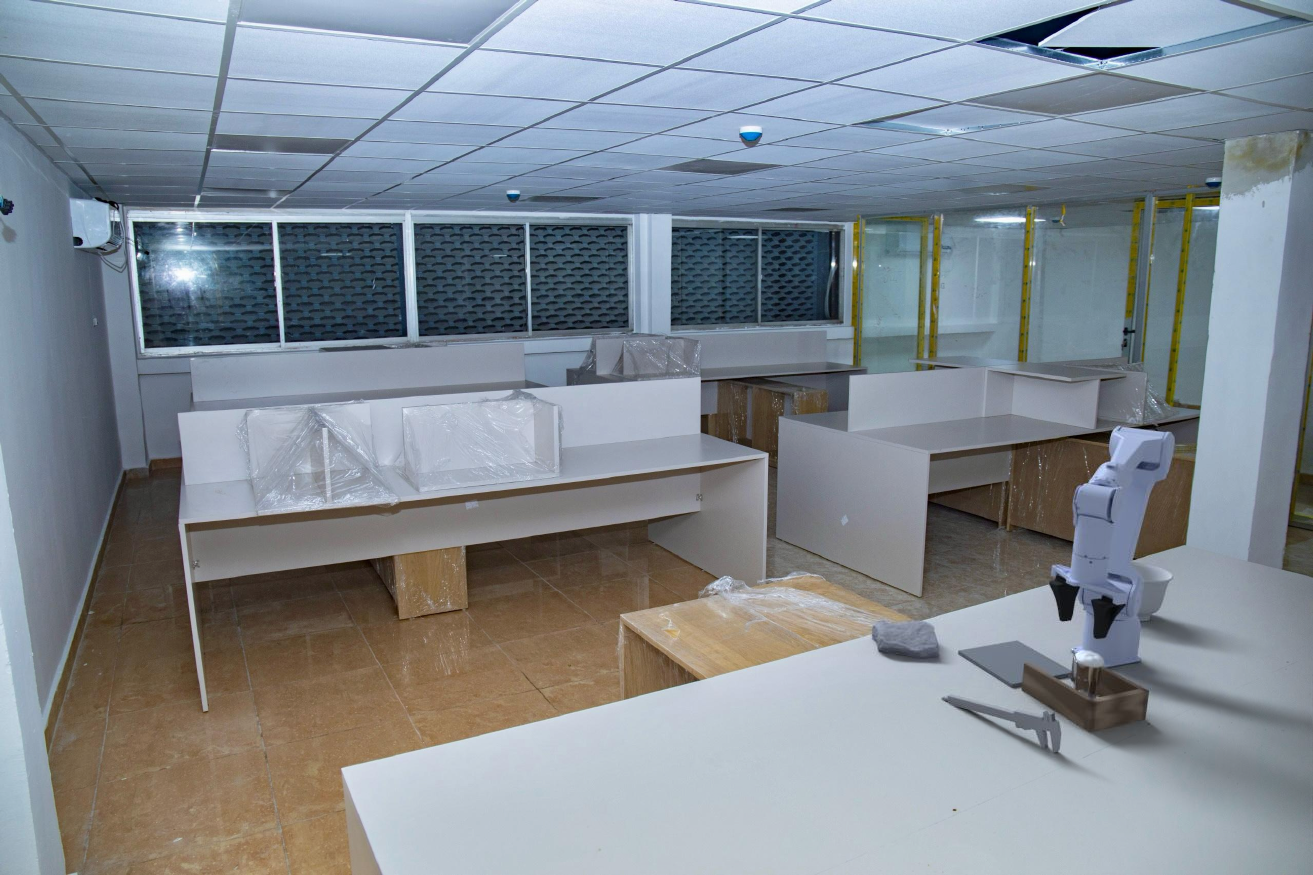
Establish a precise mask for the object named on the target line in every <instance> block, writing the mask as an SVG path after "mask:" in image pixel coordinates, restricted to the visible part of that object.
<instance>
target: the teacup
mask: <svg viewBox="0 0 1313 875" xmlns="http://www.w3.org/2000/svg"><path fill="white" fill-rule="evenodd" d="M1131 565H1132V566H1133V567H1134V568H1135V569H1136V570H1137V571H1138V572H1139V573H1140V574H1141V576H1142V577H1143V581H1144V587H1143V597H1142V603H1141V606H1140V609H1139V612H1138V614H1137V617H1138V618H1139V621H1140V622H1147V621H1149V620H1150V619H1151V615H1153V614H1156V613H1158V611H1160V610H1161V607H1162V605H1163V602H1164V598H1165V595H1166V592H1167V588H1168V585H1169V583H1170V582H1171V581H1172V580H1173V579H1174V575H1173V574H1172V573H1171V572H1170V571H1168V570H1166V569H1164V568H1161V567H1160V566H1156V565H1152V564H1150V563H1149V564H1148V563H1144V562H1136V561H1132V564H1131ZM1117 580H1118V579H1117Z"/></svg>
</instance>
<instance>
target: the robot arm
mask: <svg viewBox="0 0 1313 875" xmlns="http://www.w3.org/2000/svg"><path fill="white" fill-rule="evenodd" d="M1175 441H1176V440H1175V435H1174V434H1173V433H1172V432H1171V431H1166V432H1165V431H1158V430H1157V431H1156V430H1149V429H1141V428H1132V427H1127V426H1126V427H1125V426H1122V425H1117V426H1116V427H1115V428H1113V430H1112V432H1111V435H1110V439H1109V444H1108V446H1109V447H1108V450H1109V451H1108V452H1109V455H1110V461H1107V462H1104V463H1102V464H1101V465H1100V466H1099V467H1098V468H1097V469H1096V471H1095V473H1094V474H1093V476H1092V477H1090V478H1091V479H1090V480H1089V482H1088V483H1084V484H1083V485H1082V484H1081V485H1078V486H1077V487H1076V489H1075V491H1074V495H1073V500H1072V512H1073V514H1072V515H1073V519H1072V525H1073V526H1074V528H1075V529H1074V535H1073V537H1074V538H1073V545H1072V555H1071V562H1070V563H1071V564H1070V567H1069V566H1065V565H1063V564H1053V565H1051V572H1050V576H1051V577H1053V578H1054V579H1051V580H1049V581H1048V586H1049V587H1050V589H1051V591H1052V594H1053V596H1054V599H1055V602H1056V607H1057V614H1058V618H1059V619H1058V620H1059V621H1060V622H1063V623H1064V622H1070V621H1072V620H1073V616H1074V610H1075V605H1076V604H1075V603H1076V600H1077V601H1078V603H1079V604H1080V605H1082V606H1083V607H1082V610H1083V611H1085V616H1084V623H1083V631H1082V632H1083V633H1082V640H1081V645H1080V646H1074V647H1071V648H1070V651H1071V652H1072V653H1073V651H1072V649H1073V650H1074V653H1077V652H1079V651H1081V650H1086V651H1092V652H1094V653H1096V654H1098V655H1100V656H1101V657H1102V658H1103V660H1104V666H1103V667H1105V668H1107V669H1108V668H1111V667H1115V666H1122V665H1126V664H1132V663H1137V662H1141V661H1142V658H1141V657H1139V656H1138V655H1139V649H1140V647H1139V646H1140V640H1141V632H1142V625H1141V621H1139V618H1138V617H1137V614H1138V612H1139V609H1140V606H1141V603H1142V597H1143V587H1144V581H1143V577H1142V576H1141V574H1140V573H1139V572H1138V571H1137V570H1136V569H1135V568H1134V567H1133V566H1132V565H1131V564H1132V562H1133V560H1134V556H1135V552H1136V549H1137V545H1138V541H1139V537H1140V533H1141V529H1142V525H1143V522H1144V517H1145V516H1146V515H1145V514H1146V510H1147V506H1148V503H1149V498H1150V495H1151V492H1152V490H1153V488H1154V486H1155V484H1156V483H1157V482H1160V481H1163V480H1165V479H1166V478H1167V475H1168V473H1169V470H1170V468H1171V463H1172V460H1173V456H1174V451H1175V443H1176V442H1175ZM1117 579H1118V580H1117Z"/></svg>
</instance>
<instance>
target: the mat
mask: <svg viewBox="0 0 1313 875" xmlns="http://www.w3.org/2000/svg"><path fill="white" fill-rule="evenodd" d="M957 654H958V655H959V656H961V657H963V658H965V659H966V660H968V661H969V662H970V663H972V664H974V665H976V666H977V667H979V668H980V669H982V670H984V671H985V672H986V673H988V674H989V675H990V676H993V677H994V678H996V679H997V680H999V681H1001V682H1002V683H1004V684H1005V685H1007V686H1008V687H1010V688H1015V687H1022V678H1023V669H1024V663H1027V662H1029V663H1031V664H1033V665H1034V666H1036V667H1038V668H1040V669H1041V670H1043V671H1045V672H1047V673H1048V674H1050V675H1052V676H1053V677H1055V678H1057V679H1061V678H1066V677H1071V672H1072V669H1069V668H1067V667H1066V666H1064V665H1062V664H1060V663H1058V662H1057V661H1055V660H1053V659H1051V658H1049V657H1048V656H1046V655H1044V654H1043V653H1040V652H1039V651H1037V650H1035V649H1034V648H1031V647H1030V646H1028V645H1026V644H1024V643H1022V642H1021V641H1019V640H1012V641H1011V640H1010V641H1005V642H1000V643H994V644H990V645H989V644H988V645H983V646H977V647H972V648H967V649H961V650H960V649H959V650H958V652H957Z"/></svg>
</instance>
